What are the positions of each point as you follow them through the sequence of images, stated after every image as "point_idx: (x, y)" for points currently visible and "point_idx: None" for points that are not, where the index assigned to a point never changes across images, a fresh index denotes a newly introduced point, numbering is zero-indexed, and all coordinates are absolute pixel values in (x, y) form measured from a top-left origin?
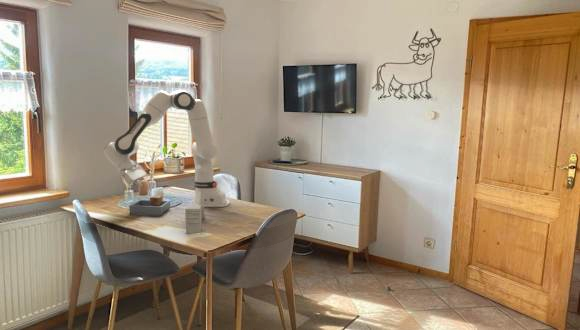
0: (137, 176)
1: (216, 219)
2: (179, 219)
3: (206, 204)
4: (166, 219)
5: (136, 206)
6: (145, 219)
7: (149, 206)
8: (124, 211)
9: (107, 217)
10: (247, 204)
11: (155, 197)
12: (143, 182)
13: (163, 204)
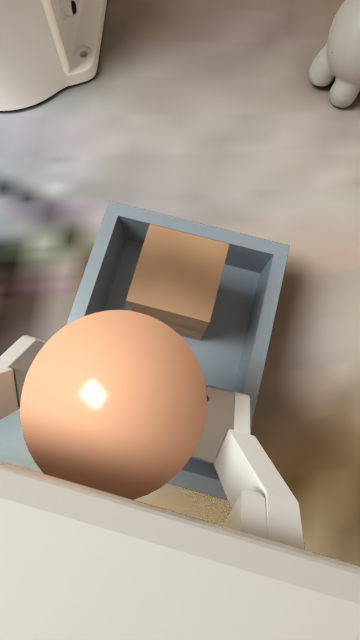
0: (182, 583)
1: None
2: (346, 171)
3: (79, 34)
4: (346, 236)
5: None
6: (346, 355)
7: (269, 330)
8: None
9: None
10: None
11: (215, 272)
12: (204, 382)
13: (214, 236)
